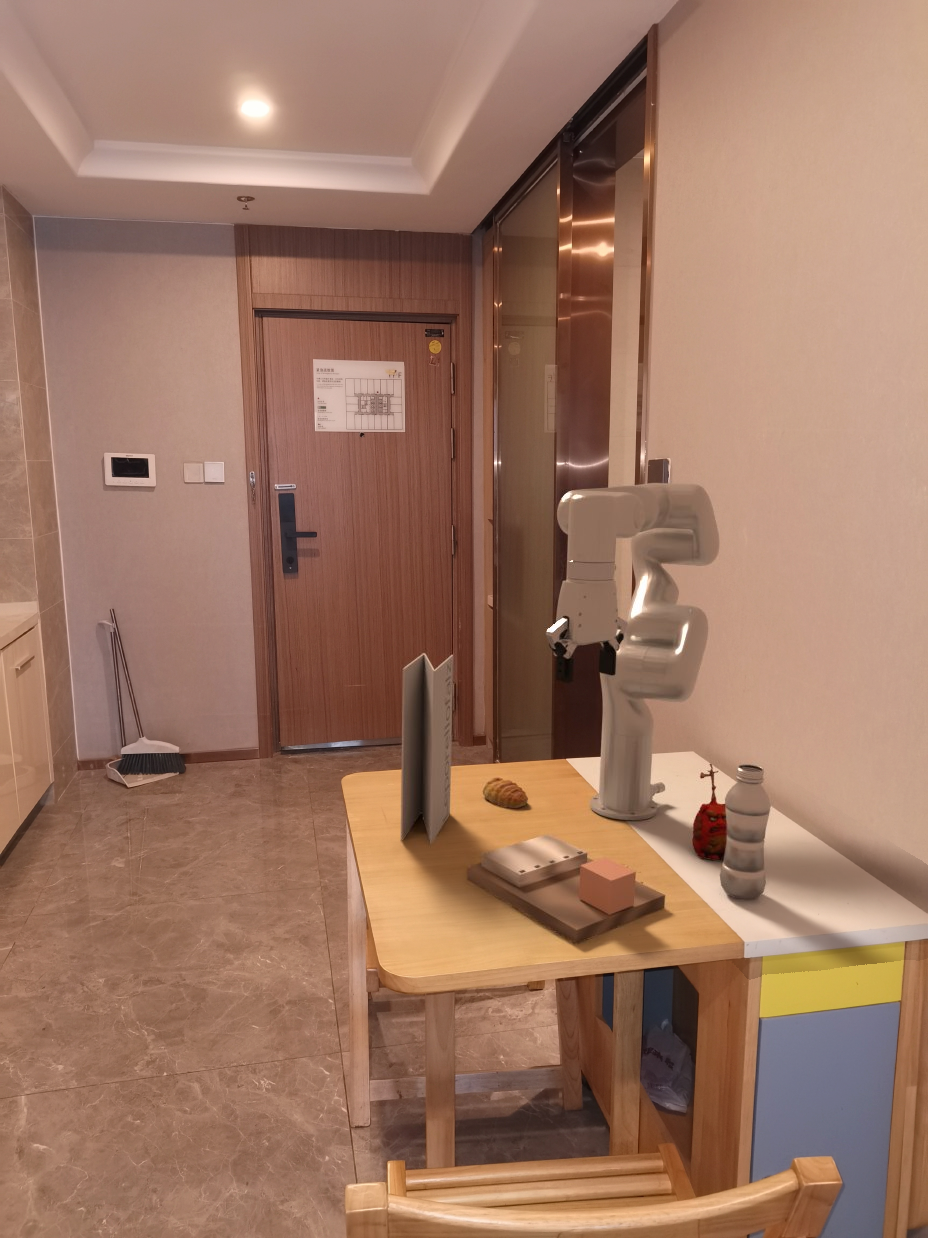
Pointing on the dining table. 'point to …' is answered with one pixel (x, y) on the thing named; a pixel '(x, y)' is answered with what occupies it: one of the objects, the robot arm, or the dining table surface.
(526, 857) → the wooden base board
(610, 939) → the dining table surface
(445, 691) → the brochure
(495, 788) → the pastry
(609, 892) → the salmon upright block
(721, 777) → the dining table surface
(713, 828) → the red clay folk toy
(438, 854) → the dining table surface
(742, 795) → the plastic bottle
